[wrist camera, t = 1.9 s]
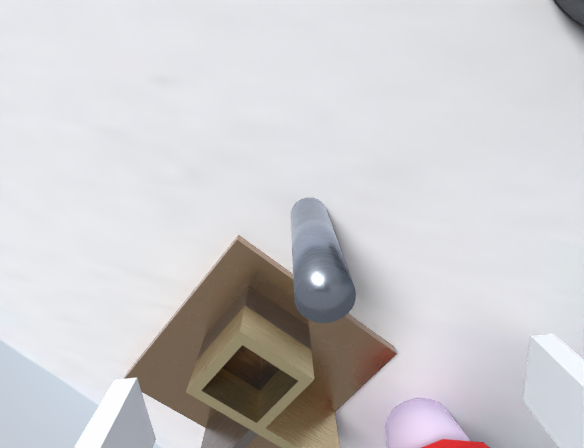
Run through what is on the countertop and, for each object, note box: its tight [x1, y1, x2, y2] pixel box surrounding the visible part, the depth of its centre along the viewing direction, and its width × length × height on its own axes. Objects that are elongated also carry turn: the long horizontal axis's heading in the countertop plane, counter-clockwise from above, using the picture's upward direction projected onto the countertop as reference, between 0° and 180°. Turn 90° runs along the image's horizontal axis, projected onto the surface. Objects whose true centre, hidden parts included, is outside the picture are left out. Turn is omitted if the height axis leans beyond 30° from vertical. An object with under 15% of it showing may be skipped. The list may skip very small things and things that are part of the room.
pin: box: [291, 198, 356, 323], centre depth 24 cm, size 3×3×13 cm
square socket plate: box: [124, 235, 397, 448], centre depth 31 cm, size 18×18×8 cm
